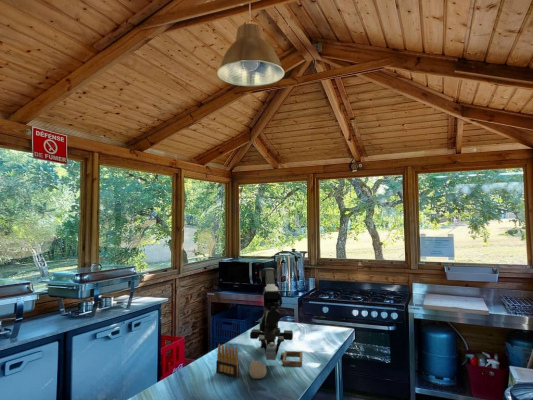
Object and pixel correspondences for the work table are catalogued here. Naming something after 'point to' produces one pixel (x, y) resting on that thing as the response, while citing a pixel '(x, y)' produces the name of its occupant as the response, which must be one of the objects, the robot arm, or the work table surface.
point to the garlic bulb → (257, 369)
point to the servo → (271, 351)
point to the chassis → (291, 353)
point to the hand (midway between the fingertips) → (271, 354)
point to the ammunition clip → (227, 362)
